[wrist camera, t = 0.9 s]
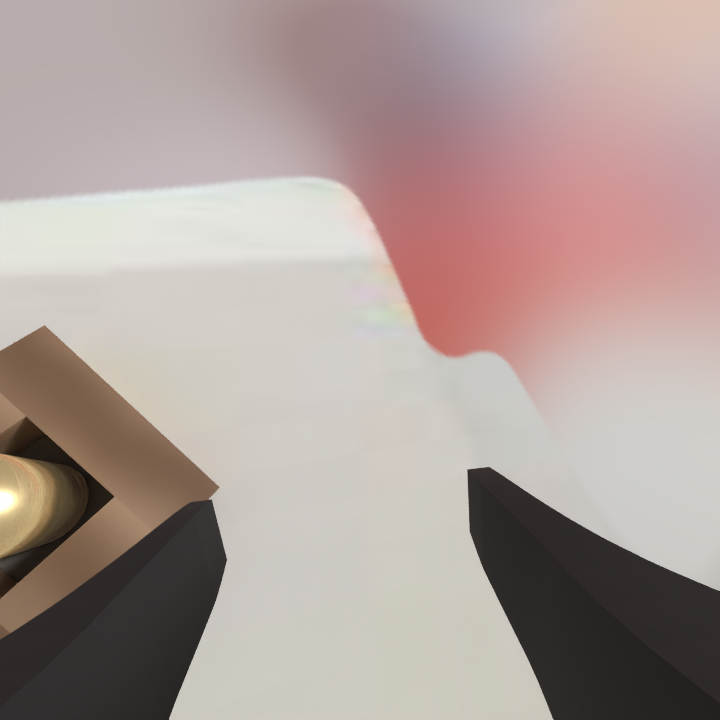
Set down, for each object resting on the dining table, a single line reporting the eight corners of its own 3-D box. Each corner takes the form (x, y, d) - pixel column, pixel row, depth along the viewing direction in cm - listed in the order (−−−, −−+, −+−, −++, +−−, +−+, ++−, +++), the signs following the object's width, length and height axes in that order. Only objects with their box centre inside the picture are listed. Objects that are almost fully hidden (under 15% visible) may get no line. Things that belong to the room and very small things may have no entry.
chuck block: (4, 709, 16) (-46, 762, 13) (-212, 526, 15) (-317, 535, 12) (218, 487, 22) (219, 487, 18) (68, 349, 21) (44, 325, 18)
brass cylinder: (30, 565, 17) (-89, 615, 11) (-33, 510, 17) (-196, 523, 10) (106, 497, 19) (49, 501, 12) (51, 447, 19) (-39, 423, 12)
